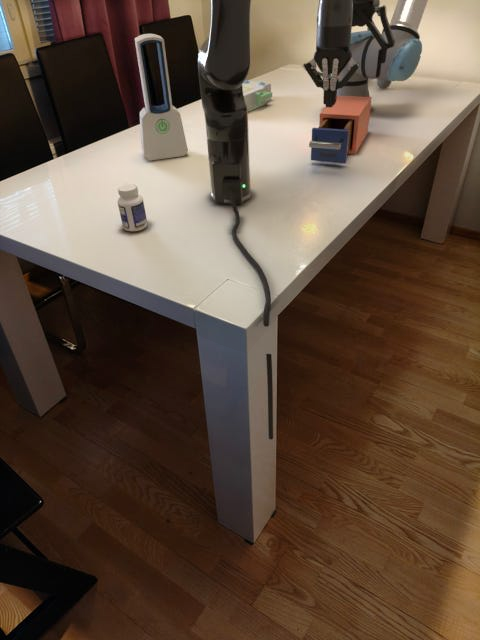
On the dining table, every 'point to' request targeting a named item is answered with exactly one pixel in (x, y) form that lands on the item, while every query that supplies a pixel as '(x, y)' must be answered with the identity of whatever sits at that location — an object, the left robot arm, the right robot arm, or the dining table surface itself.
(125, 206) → the pill bottle
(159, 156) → the electronic device
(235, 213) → the left robot arm
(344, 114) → the cabinet
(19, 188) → the dining table surface
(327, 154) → the drawer
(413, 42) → the right robot arm
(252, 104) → the decorative block
